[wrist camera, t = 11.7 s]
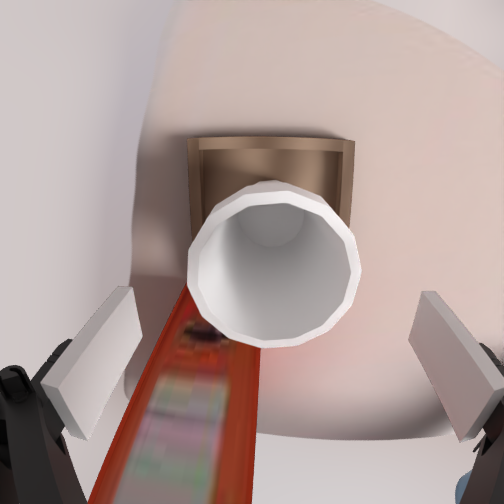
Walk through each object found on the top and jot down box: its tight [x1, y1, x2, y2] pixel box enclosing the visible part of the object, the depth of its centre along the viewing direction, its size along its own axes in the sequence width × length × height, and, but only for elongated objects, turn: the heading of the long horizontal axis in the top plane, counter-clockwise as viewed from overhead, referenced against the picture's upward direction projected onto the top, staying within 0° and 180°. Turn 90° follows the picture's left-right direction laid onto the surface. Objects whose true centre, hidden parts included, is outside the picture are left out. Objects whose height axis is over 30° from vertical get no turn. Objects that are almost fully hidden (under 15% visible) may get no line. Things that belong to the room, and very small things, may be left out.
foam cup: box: [187, 180, 362, 348], centre depth 23 cm, size 10×9×13 cm
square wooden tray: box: [187, 136, 355, 243], centre depth 28 cm, size 14×14×2 cm
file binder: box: [87, 283, 261, 504], centre depth 21 cm, size 8×17×32 cm, turn 176°
